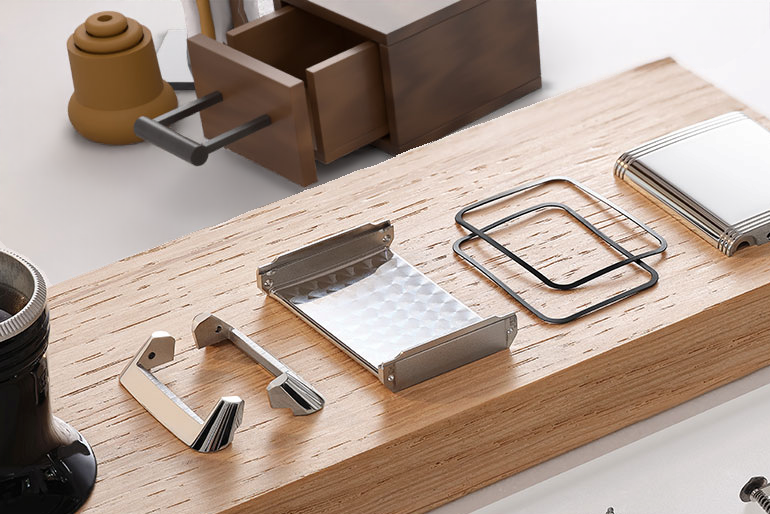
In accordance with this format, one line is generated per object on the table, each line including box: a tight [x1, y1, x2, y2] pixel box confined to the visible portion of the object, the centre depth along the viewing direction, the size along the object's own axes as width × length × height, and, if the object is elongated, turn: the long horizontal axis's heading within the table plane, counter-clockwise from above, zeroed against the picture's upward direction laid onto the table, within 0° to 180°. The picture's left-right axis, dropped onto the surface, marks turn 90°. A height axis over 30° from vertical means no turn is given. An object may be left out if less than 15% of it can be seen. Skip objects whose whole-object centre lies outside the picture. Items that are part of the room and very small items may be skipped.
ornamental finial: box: [66, 10, 179, 146], centre depth 145 cm, size 8×8×8 cm
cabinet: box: [272, 0, 543, 157], centre depth 148 cm, size 14×12×9 cm
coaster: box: [156, 29, 195, 90], centre depth 155 cm, size 11×8×1 cm
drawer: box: [133, 4, 390, 189], centre depth 141 cm, size 19×11×7 cm, turn 140°
